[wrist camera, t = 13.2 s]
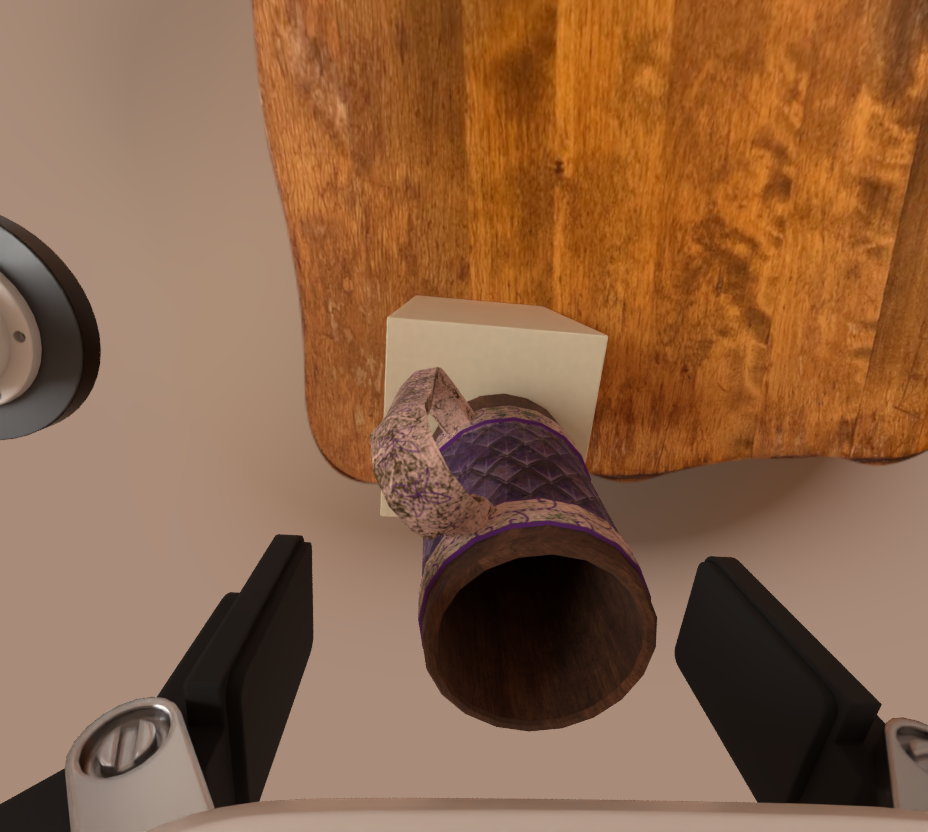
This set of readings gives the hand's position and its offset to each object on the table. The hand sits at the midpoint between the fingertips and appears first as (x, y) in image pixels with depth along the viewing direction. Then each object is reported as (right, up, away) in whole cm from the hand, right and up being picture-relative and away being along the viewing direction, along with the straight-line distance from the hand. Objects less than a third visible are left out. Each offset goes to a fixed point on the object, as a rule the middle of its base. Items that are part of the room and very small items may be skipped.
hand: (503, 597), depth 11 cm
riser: (0, +9, +26) cm, 28 cm away
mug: (0, +3, +11) cm, 12 cm away
